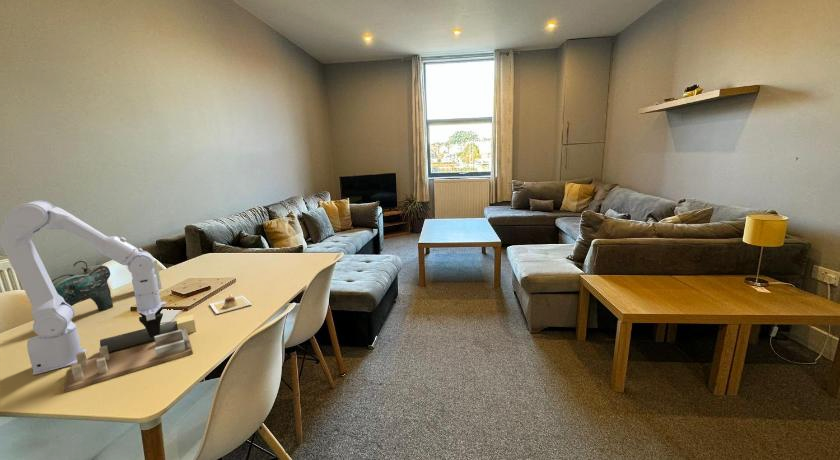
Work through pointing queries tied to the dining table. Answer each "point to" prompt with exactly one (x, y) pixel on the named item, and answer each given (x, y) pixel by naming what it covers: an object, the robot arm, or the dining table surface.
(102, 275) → the dark green irregular piece
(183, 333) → the board
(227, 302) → the dessert
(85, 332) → the dining table surface
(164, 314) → the smartphone
